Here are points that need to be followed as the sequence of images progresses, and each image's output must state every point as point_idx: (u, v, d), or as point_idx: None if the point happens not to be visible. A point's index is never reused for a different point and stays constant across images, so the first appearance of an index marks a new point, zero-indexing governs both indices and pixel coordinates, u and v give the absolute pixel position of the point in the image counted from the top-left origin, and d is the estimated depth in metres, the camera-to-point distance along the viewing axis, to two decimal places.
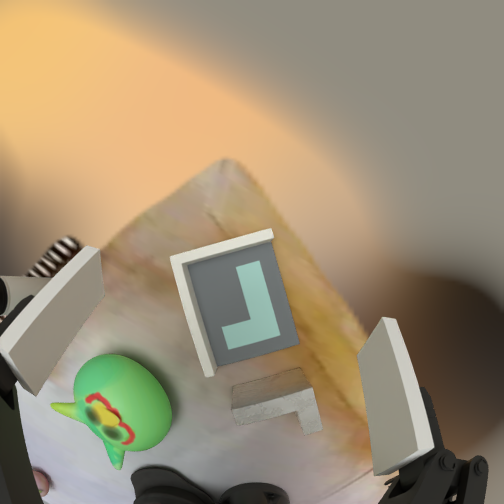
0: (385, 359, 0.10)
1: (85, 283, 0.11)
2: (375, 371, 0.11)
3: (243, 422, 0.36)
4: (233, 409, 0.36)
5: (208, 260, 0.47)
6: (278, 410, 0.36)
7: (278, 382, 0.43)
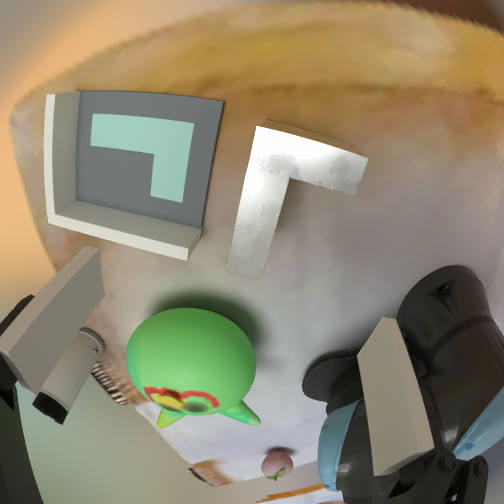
0: (384, 359, 0.10)
1: (85, 283, 0.11)
2: (375, 371, 0.11)
3: (258, 269, 0.23)
4: (226, 268, 0.24)
5: (76, 174, 0.30)
6: (267, 207, 0.21)
7: None
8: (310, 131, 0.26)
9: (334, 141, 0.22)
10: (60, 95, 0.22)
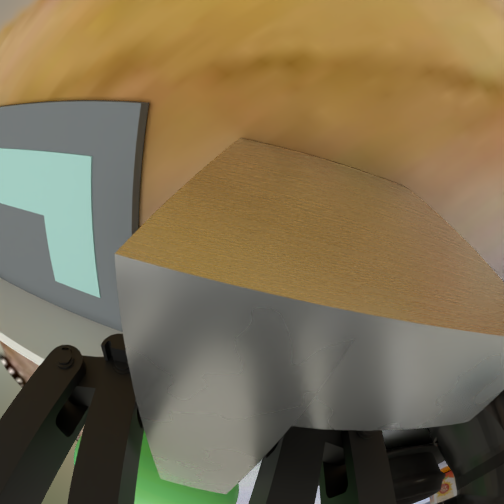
0: None
1: None
2: None
3: (218, 489, 0.09)
4: (160, 476, 0.09)
5: None
6: (223, 455, 0.06)
7: None
8: (345, 170, 0.11)
9: (421, 218, 0.07)
10: None
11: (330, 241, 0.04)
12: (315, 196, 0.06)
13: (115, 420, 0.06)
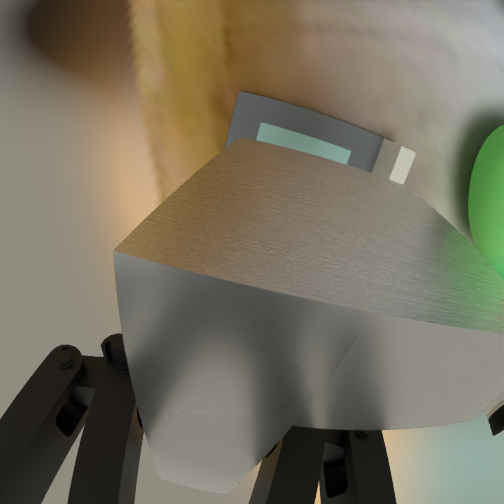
0: None
1: None
2: None
3: (219, 489, 0.09)
4: (160, 476, 0.09)
5: None
6: (223, 455, 0.06)
7: None
8: (346, 168, 0.11)
9: (422, 217, 0.07)
10: None
11: (331, 238, 0.04)
12: (316, 194, 0.06)
13: (115, 420, 0.06)
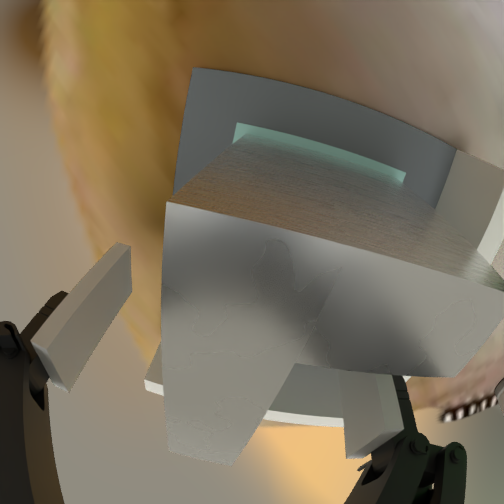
0: None
1: (117, 279, 0.11)
2: None
3: (224, 459, 0.10)
4: None
5: None
6: (233, 407, 0.07)
7: None
8: (339, 161, 0.12)
9: (404, 200, 0.09)
10: (151, 370, 0.17)
11: (322, 205, 0.06)
12: (311, 177, 0.08)
13: (11, 400, 0.05)
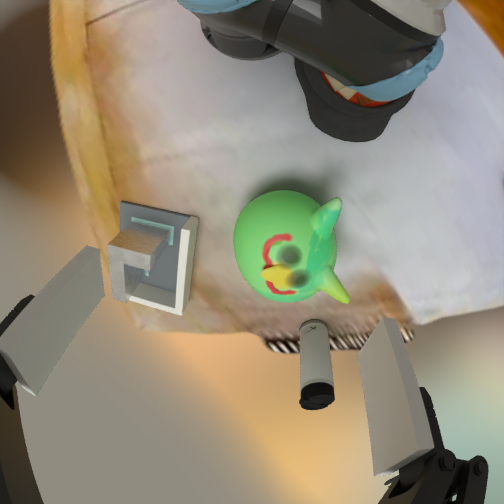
0: (385, 359, 0.10)
1: (85, 283, 0.11)
2: (375, 371, 0.11)
3: (123, 298, 0.48)
4: None
5: (165, 289, 0.59)
6: (119, 274, 0.45)
7: None
8: (152, 227, 0.50)
9: (152, 238, 0.47)
10: None
11: (126, 243, 0.44)
12: (131, 236, 0.46)
13: None
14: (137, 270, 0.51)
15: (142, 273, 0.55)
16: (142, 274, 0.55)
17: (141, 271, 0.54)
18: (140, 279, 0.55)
